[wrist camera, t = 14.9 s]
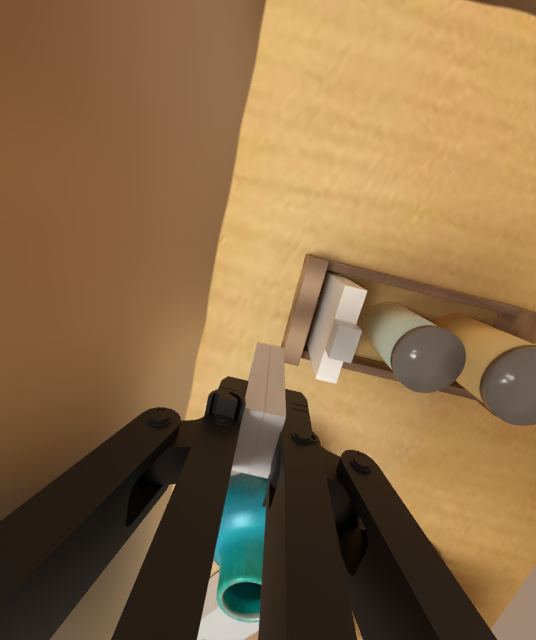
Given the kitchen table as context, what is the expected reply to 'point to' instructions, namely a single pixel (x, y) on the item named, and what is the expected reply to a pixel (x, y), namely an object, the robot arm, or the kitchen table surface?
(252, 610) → the vase
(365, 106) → the kitchen table surface
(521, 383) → the amber jar
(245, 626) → the skincare box
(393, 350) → the sage jar
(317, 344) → the plate
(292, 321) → the wooden spice rack
